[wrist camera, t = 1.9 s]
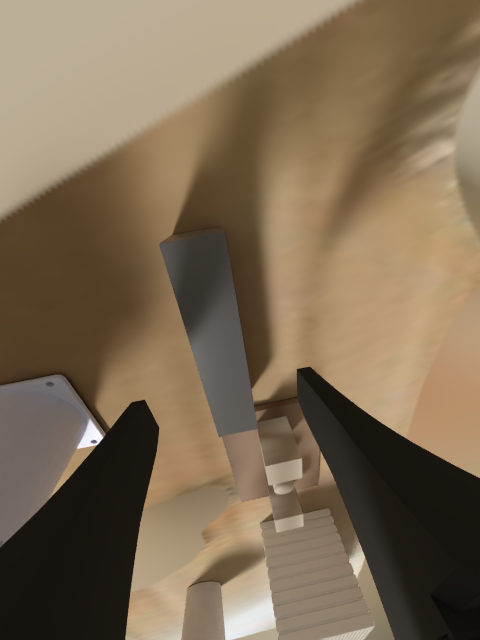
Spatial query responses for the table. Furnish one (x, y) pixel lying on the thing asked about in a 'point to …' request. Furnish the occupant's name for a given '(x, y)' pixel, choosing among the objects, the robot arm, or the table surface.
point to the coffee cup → (204, 612)
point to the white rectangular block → (314, 582)
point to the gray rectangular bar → (212, 324)
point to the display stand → (276, 460)
